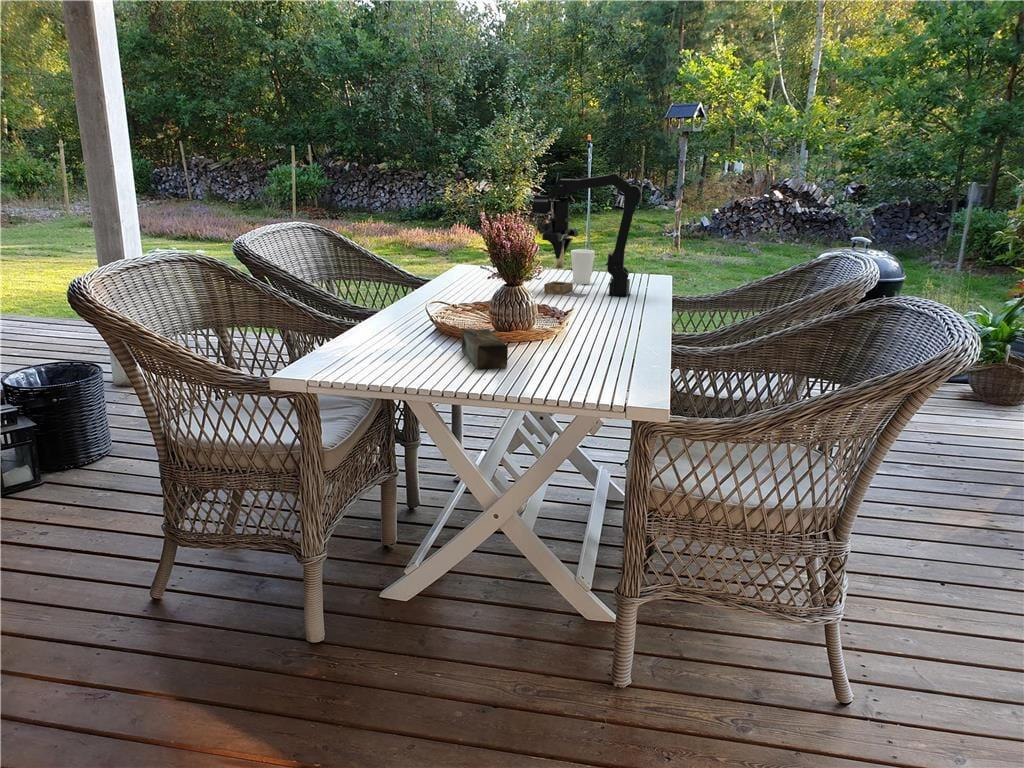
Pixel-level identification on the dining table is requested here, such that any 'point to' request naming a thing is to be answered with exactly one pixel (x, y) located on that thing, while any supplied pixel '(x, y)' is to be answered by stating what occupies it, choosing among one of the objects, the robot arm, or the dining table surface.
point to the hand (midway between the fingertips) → (559, 258)
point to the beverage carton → (484, 349)
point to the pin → (560, 260)
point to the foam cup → (582, 265)
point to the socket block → (558, 288)
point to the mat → (576, 295)
